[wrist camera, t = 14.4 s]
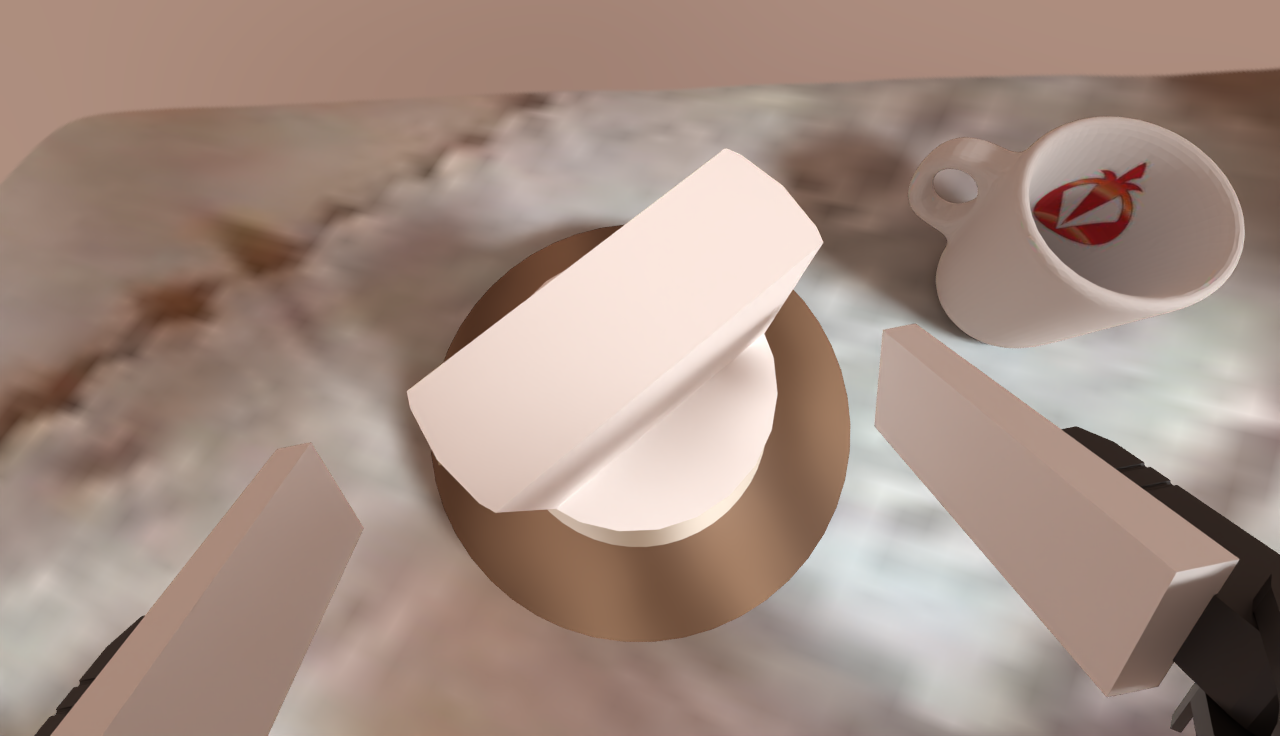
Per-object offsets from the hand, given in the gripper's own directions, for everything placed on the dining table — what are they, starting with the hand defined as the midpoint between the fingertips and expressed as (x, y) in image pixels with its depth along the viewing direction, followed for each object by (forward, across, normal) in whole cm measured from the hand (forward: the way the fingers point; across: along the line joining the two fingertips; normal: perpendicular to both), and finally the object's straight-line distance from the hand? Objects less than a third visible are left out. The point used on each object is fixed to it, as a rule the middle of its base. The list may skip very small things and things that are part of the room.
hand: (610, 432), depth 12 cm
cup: (+14, +19, -5) cm, 24 cm away
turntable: (+11, +1, -8) cm, 13 cm away
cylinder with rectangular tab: (+8, +1, -6) cm, 10 cm away
